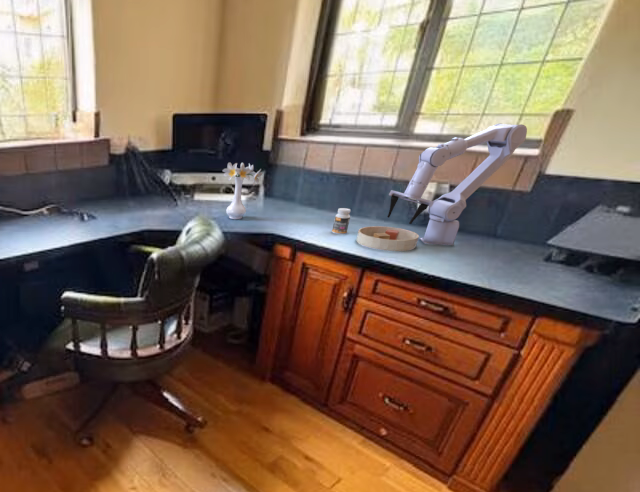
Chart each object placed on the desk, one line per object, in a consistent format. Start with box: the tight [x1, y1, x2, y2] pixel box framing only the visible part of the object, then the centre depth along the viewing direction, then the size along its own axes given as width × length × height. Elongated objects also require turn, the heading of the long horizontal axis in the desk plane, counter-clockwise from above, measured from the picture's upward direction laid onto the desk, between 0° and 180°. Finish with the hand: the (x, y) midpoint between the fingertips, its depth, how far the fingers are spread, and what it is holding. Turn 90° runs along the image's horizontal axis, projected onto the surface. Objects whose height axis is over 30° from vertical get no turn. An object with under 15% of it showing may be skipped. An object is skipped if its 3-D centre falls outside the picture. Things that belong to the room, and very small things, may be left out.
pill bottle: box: [331, 207, 352, 235], centre depth 174 cm, size 6×6×10 cm
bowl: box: [355, 225, 420, 252], centre depth 161 cm, size 20×20×4 cm
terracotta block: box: [385, 229, 399, 240], centre depth 162 cm, size 4×4×4 cm
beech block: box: [373, 233, 390, 240], centre depth 159 cm, size 4×4×4 cm
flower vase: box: [221, 162, 263, 220], centre depth 198 cm, size 13×18×25 cm
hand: (398, 220), depth 157 cm, fingers open, 7 cm apart
